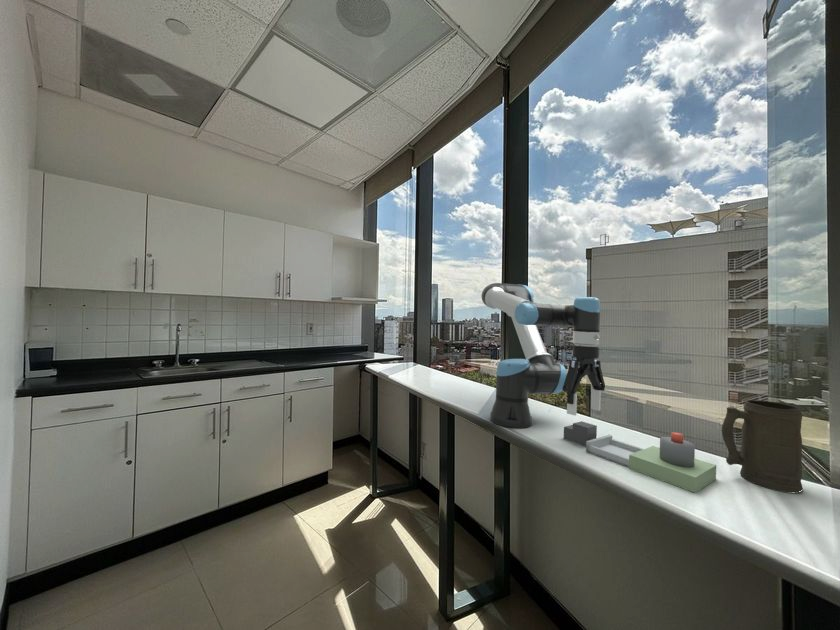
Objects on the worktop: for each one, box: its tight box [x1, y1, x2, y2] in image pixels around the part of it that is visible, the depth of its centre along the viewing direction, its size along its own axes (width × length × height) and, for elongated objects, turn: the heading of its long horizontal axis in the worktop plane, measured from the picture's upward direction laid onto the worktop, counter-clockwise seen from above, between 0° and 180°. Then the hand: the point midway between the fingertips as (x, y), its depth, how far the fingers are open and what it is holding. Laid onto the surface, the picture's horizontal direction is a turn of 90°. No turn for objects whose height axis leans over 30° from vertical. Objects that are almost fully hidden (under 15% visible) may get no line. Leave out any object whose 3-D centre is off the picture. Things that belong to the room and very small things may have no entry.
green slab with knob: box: [585, 431, 717, 493], centre depth 89 cm, size 26×14×10 cm, turn 33°
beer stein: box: [721, 399, 804, 493], centre depth 82 cm, size 15×11×20 cm
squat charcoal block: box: [563, 421, 598, 448], centre depth 105 cm, size 8×5×6 cm, turn 33°
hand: (584, 412), depth 104 cm, fingers open, 13 cm apart
